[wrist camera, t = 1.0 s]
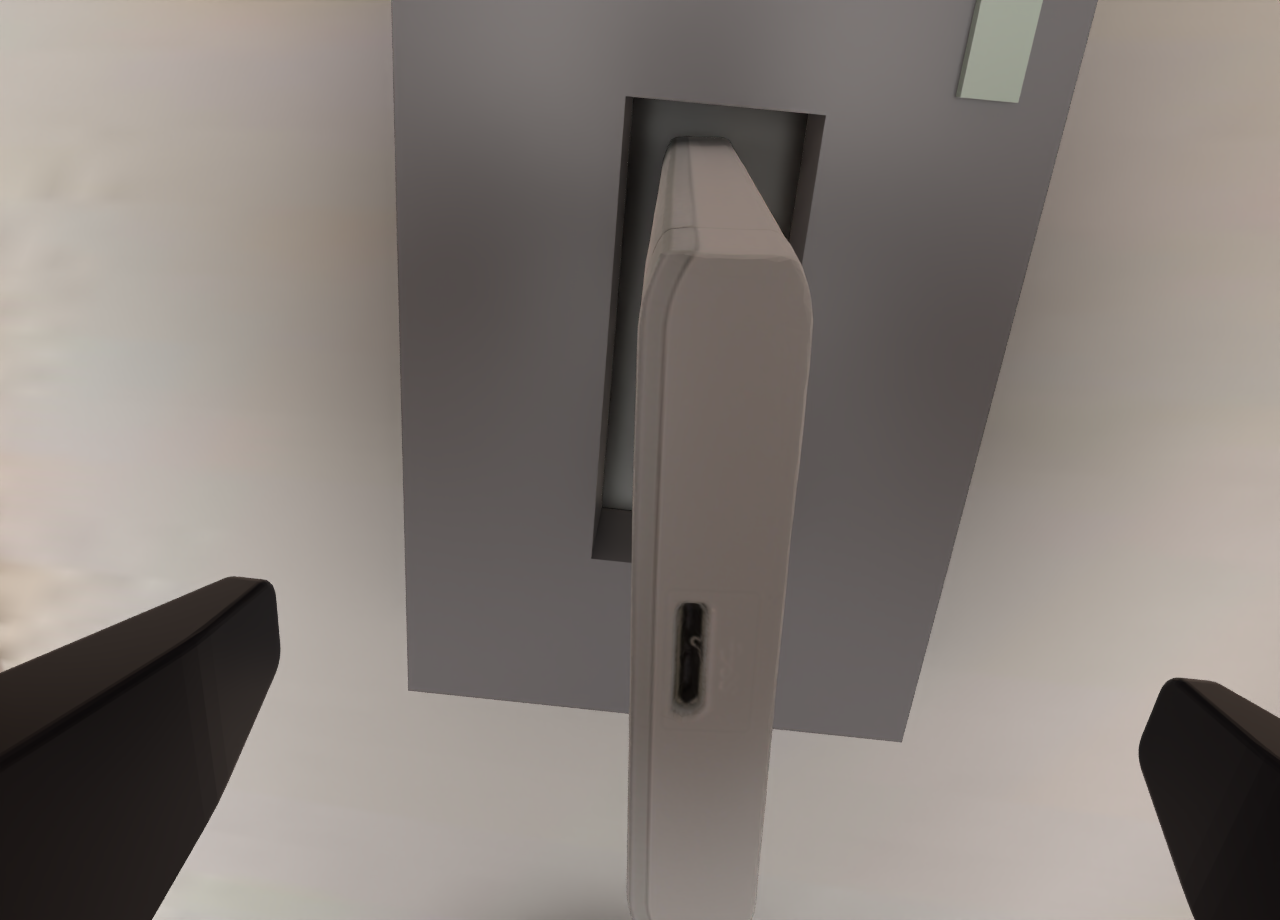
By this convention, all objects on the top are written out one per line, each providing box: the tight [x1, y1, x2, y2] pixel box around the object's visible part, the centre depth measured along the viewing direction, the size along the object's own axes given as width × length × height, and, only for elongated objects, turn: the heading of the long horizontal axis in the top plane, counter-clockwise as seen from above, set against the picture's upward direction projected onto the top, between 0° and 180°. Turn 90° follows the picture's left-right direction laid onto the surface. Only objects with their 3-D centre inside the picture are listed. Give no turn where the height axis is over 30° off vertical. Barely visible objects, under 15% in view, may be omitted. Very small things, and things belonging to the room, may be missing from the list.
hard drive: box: [627, 136, 813, 920], centre depth 15 cm, size 2×8×12 cm, turn 179°
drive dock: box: [391, 0, 1098, 742], centre depth 19 cm, size 18×12×3 cm, turn 175°
